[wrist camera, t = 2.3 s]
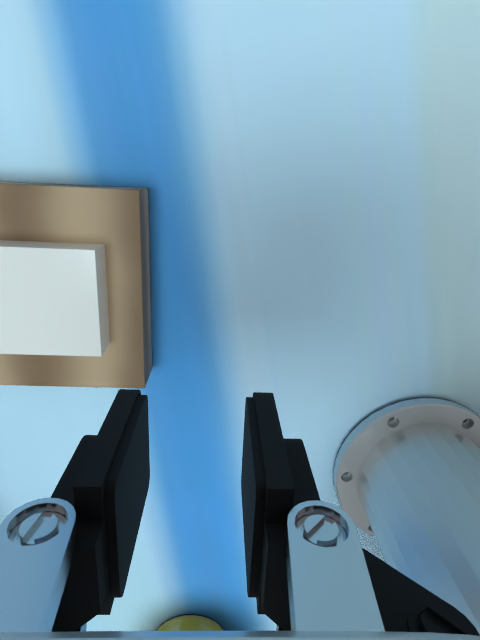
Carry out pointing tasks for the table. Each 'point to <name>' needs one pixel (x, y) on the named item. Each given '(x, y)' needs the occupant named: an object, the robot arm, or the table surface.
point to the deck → (121, 270)
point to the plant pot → (190, 624)
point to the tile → (53, 298)
